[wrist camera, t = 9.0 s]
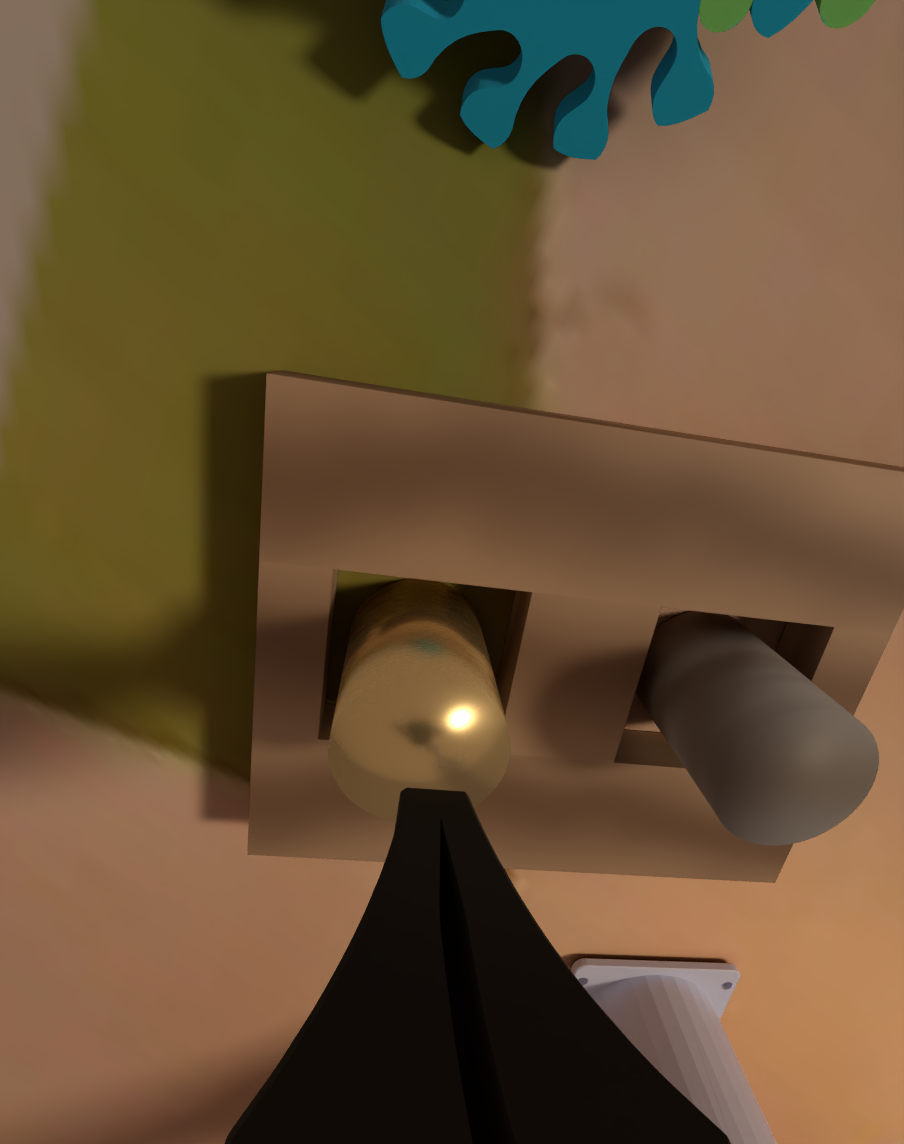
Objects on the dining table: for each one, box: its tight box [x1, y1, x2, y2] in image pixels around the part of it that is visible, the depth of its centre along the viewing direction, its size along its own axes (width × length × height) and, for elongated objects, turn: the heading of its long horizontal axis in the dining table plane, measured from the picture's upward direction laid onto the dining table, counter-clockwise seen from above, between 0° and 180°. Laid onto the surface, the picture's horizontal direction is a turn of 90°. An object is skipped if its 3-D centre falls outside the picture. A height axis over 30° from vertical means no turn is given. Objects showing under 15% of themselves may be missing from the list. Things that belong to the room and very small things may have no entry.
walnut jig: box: [248, 371, 904, 883], centre depth 18 cm, size 16×20×6 cm
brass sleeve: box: [328, 578, 511, 822], centre depth 17 cm, size 4×4×6 cm
